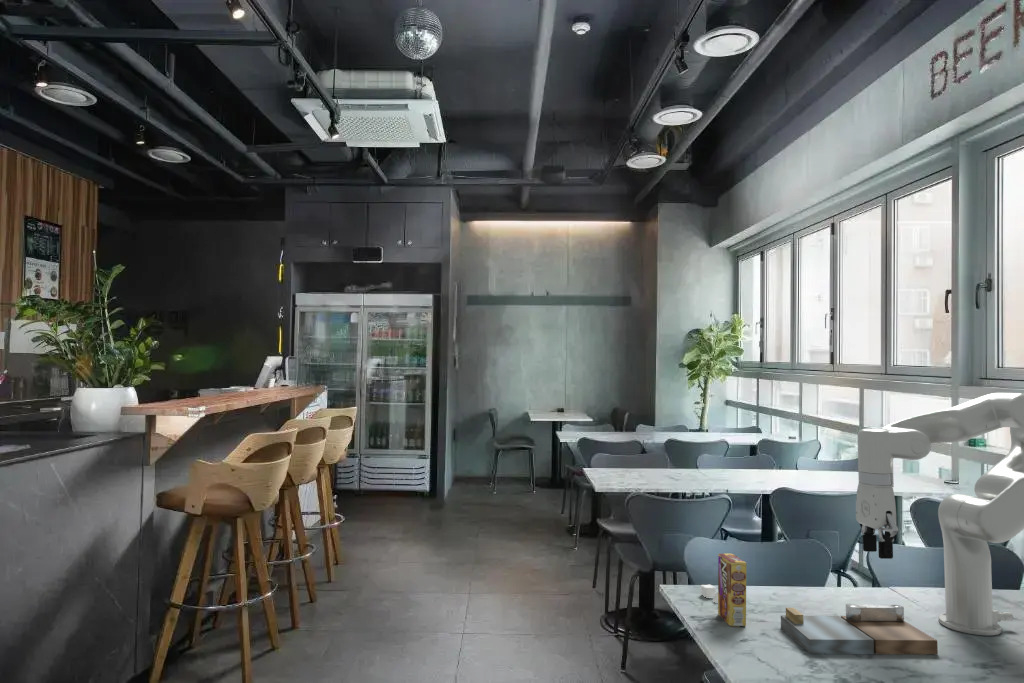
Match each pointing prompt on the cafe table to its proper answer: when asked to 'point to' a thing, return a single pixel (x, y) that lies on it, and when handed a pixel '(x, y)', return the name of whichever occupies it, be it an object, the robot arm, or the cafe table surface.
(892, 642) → the gray and brown slabs
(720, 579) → the candy box
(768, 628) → the cafe table surface
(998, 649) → the cafe table surface
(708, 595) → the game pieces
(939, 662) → the cafe table surface
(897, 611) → the swing bar
